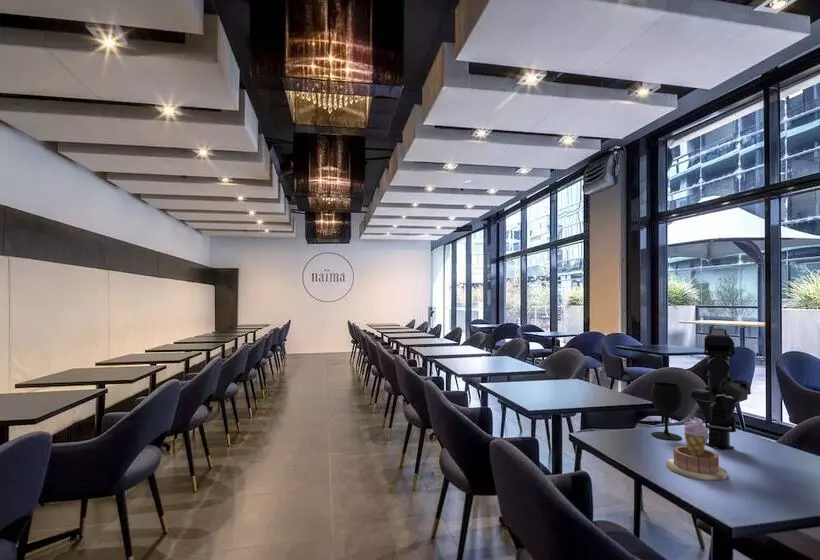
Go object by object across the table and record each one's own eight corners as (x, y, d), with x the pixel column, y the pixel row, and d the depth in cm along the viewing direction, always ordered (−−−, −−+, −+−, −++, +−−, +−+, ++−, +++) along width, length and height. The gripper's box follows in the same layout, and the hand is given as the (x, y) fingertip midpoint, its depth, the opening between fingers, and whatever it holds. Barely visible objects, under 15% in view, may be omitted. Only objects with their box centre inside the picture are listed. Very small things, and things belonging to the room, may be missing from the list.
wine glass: (678, 434, 178) (678, 383, 179) (685, 442, 168) (684, 387, 169) (649, 431, 181) (648, 381, 182) (653, 438, 171) (653, 385, 172)
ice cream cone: (708, 466, 141) (708, 417, 141) (710, 472, 136) (710, 421, 136) (683, 461, 144) (684, 414, 145) (684, 467, 139) (684, 418, 139)
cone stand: (690, 458, 150) (690, 441, 150) (740, 476, 135) (740, 458, 135) (654, 464, 145) (654, 446, 145) (701, 483, 130) (701, 464, 130)
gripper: (722, 378, 140) (723, 429, 139) (763, 375, 146) (764, 424, 145) (689, 372, 150) (689, 420, 149) (728, 370, 156) (729, 416, 156)
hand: (719, 420), depth 150 cm, fingers open, 9 cm apart
